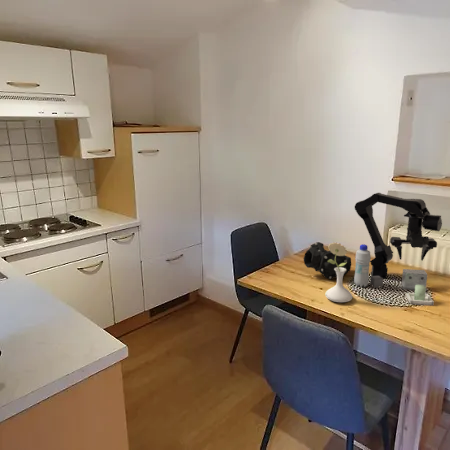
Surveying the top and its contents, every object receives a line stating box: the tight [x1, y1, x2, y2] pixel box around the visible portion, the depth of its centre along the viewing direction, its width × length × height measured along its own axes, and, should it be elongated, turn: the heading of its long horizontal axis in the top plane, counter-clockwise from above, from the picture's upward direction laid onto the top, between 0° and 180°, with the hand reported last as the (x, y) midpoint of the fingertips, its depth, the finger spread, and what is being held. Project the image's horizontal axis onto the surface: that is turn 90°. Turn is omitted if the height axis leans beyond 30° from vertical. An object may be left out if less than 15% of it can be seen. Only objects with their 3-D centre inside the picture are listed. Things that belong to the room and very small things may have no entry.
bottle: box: [353, 243, 372, 288], centre depth 180 cm, size 7×7×20 cm
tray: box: [405, 292, 435, 307], centre depth 166 cm, size 9×8×2 cm
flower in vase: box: [324, 241, 353, 303], centre depth 166 cm, size 13×11×25 cm
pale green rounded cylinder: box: [414, 285, 427, 301], centre depth 165 cm, size 4×4×6 cm
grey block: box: [369, 275, 384, 288], centre depth 182 cm, size 4×4×4 cm
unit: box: [401, 268, 428, 292], centre depth 177 cm, size 10×6×8 cm, turn 79°
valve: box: [303, 241, 352, 280], centre depth 200 cm, size 22×15×30 cm
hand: (411, 259), depth 180 cm, fingers open, 9 cm apart
